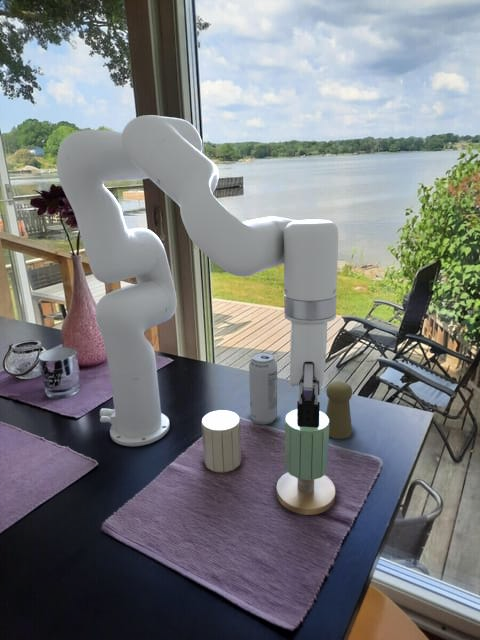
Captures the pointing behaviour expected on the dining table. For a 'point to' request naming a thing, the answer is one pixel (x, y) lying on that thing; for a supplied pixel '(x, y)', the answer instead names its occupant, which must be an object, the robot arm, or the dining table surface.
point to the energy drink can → (263, 388)
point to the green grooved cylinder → (306, 447)
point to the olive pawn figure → (339, 409)
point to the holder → (305, 494)
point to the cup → (221, 440)
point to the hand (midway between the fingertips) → (309, 409)
